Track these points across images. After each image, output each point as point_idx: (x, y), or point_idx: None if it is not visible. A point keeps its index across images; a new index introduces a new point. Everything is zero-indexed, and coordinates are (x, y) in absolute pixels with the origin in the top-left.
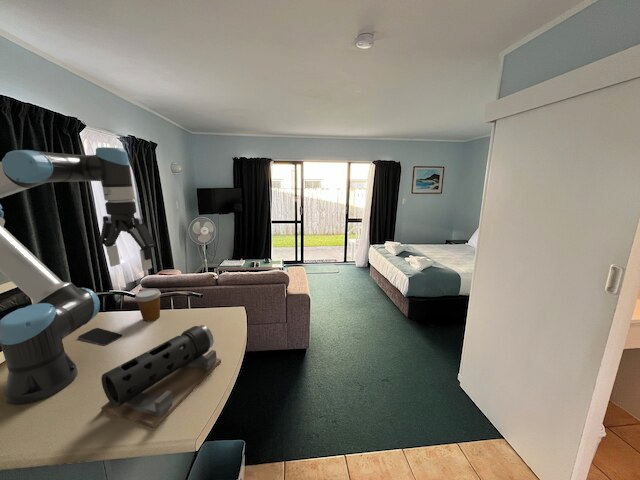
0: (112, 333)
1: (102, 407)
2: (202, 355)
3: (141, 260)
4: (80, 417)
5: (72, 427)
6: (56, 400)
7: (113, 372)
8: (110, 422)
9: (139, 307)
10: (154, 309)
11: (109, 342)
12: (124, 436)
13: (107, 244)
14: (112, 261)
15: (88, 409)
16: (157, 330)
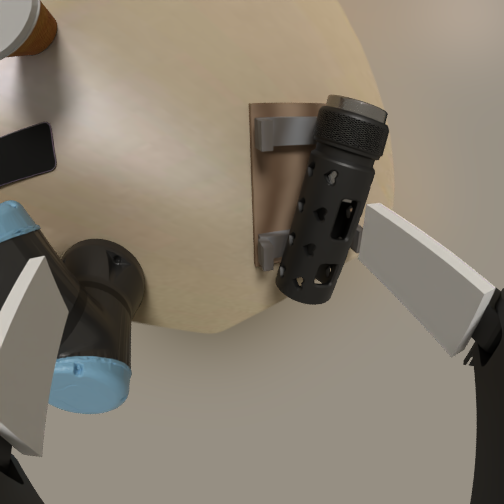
0: (21, 135)
1: (258, 265)
2: (322, 105)
3: (401, 300)
4: (237, 281)
5: (245, 292)
6: (164, 284)
7: (319, 297)
8: None
9: (9, 56)
10: (47, 26)
11: (53, 157)
12: None
13: (27, 478)
14: (56, 330)
15: (232, 270)
16: (109, 58)
